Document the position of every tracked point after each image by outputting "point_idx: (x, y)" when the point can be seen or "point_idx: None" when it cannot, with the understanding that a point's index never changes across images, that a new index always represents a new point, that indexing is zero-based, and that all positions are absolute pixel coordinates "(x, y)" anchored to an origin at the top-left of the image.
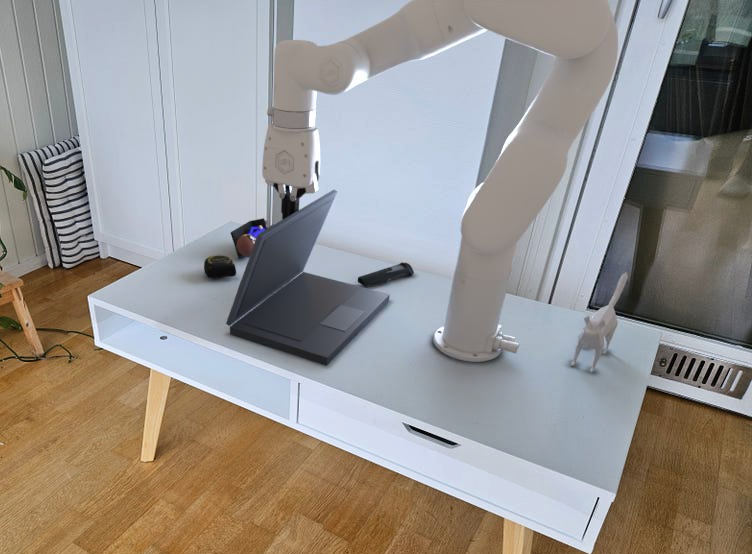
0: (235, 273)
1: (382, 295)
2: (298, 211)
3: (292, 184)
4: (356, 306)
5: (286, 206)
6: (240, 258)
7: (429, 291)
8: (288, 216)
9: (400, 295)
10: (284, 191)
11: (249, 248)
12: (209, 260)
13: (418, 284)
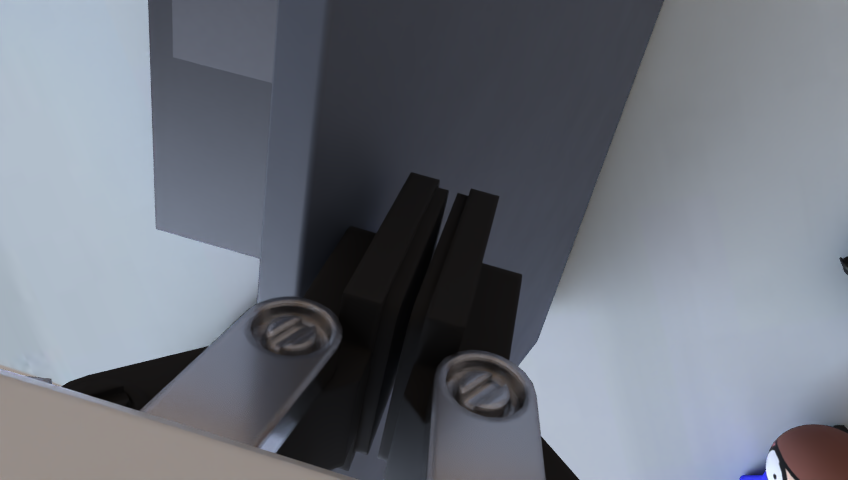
0: (844, 262)
1: (173, 213)
2: (290, 244)
3: (55, 413)
4: (221, 92)
5: (427, 275)
6: (836, 426)
7: (94, 315)
8: (321, 18)
9: (159, 269)
10: (429, 440)
11: (806, 447)
12: None
13: (142, 352)
